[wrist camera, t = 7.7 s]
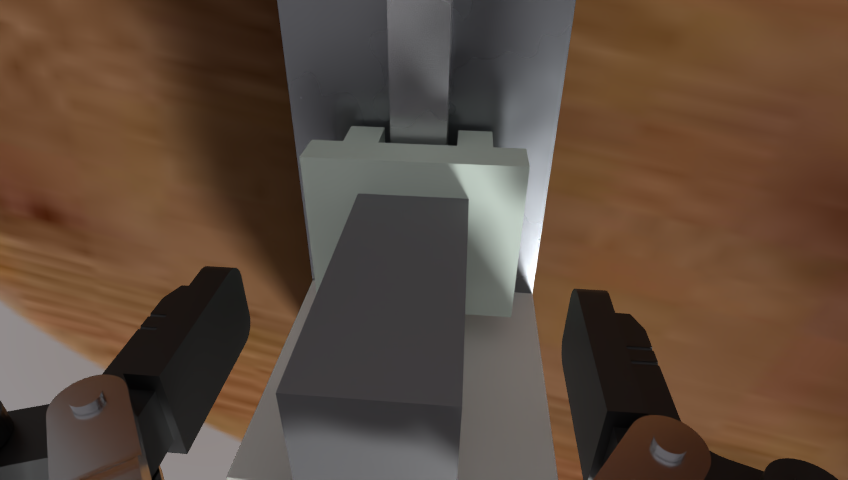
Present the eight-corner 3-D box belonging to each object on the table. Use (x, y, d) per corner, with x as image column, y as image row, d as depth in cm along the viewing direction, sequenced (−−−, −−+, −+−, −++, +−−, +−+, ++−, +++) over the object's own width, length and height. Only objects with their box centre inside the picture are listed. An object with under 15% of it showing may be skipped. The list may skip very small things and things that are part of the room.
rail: (183, -945, 8) (89, -1213, 6) (709, -998, 8) (788, -1308, 6) (331, 356, 23) (317, 399, 21) (516, 368, 23) (519, 414, 21)
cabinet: (312, 280, 20) (226, 477, 13) (532, 293, 19) (561, 506, 12) (324, 376, 22) (258, 581, 16) (517, 390, 22) (535, 608, 15)
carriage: (321, 124, 16) (170, 340, 8) (522, 132, 16) (568, 367, 8) (335, 261, 19) (230, 524, 11) (507, 271, 18) (529, 551, 10)
